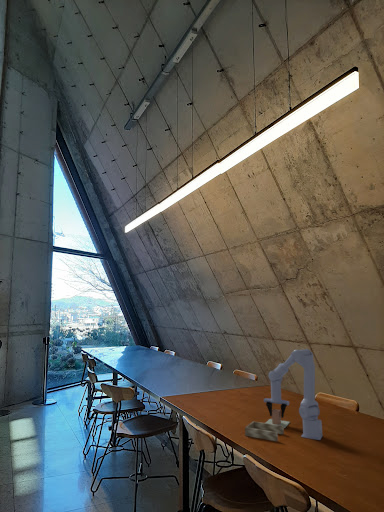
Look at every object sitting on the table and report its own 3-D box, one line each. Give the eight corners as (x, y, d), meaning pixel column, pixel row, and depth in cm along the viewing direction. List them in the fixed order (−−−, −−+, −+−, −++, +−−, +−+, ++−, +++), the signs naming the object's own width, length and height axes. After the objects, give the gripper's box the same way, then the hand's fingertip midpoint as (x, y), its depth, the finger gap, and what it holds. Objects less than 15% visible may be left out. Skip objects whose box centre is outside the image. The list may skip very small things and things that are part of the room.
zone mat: (289, 422, 209) (289, 421, 209) (284, 428, 199) (284, 427, 199) (269, 419, 215) (269, 418, 215) (263, 424, 205) (263, 424, 205)
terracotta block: (281, 422, 207) (280, 410, 208) (279, 424, 204) (278, 411, 205) (274, 421, 209) (273, 409, 210) (272, 423, 206) (271, 410, 207)
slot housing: (283, 434, 190) (283, 426, 190) (277, 441, 179) (277, 432, 179) (253, 428, 198) (252, 421, 198) (245, 435, 187) (245, 427, 187)
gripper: (290, 392, 210) (291, 416, 208) (266, 389, 217) (266, 413, 215) (287, 394, 204) (288, 419, 202) (262, 391, 211) (263, 416, 208)
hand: (276, 416), depth 208 cm, fingers open, 6 cm apart
